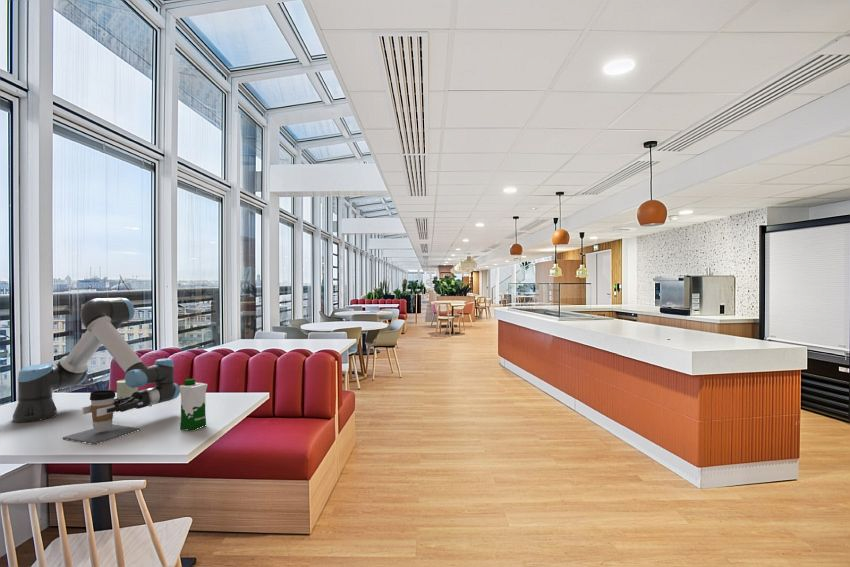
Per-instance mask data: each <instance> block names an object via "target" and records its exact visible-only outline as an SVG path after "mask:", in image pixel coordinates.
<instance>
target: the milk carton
mask: <svg viewBox="0 0 850 567" xmlns="http://www.w3.org/2000/svg"><path fill="white" fill-rule="evenodd" d="M178 386H179V389H180V393H179V395H180V425H179V429H180V430H183V429H188V430H187V431H190V430H194V431H196V430H195V429H197V428H200V427H202V426H205V425H206V426H207V416H206V392H207V389H208V383H203V382H196V378H185V379H184V384H181V385H178ZM206 426H205V427H206ZM202 428H203V427H202ZM200 429H201V428H200ZM197 430H198V429H197Z"/></svg>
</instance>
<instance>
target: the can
mask: <svg viewBox="0 0 850 567" xmlns="http://www.w3.org/2000/svg"><path fill="white" fill-rule="evenodd" d="M136 391H139V387H134V388H132V387H129V386H127V385H126V383H125V380H124V379H120V380H117V381H116V398H120V397H122V398H125V397H131V396H132V394H133V393H134V392H136Z"/></svg>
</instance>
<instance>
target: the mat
mask: <svg viewBox="0 0 850 567" xmlns="http://www.w3.org/2000/svg"><path fill="white" fill-rule="evenodd" d="M137 430H139V431H141V428H140V427H135V426H134V427H133V426H126V425H119V424H115V423H114V424H113V423H112V428H110V429H108V430H104V431H94V429H93V428H90V429H86V430H84V431H80V432H75V433H73V434H69V435H66V436H63V437H62V440H65V439H68V440H67V441H70V440H74V441H73V442H76V441H80V442H79V443H82V442H86V443H85V444H88V443H91V444H90V445H94V444H95V445H98V444H97V443H99V444H101V443H100V442H102V443H104V441H105V442H108V441H111V440H114V439H117V438H120V437H119V436H121V437H123V436H122V435H124V436H126V435H125V434H127V435H129V434H128V433H130V434H132V433H131V432H133V433H135V432H134V431H136V432H138V431H137ZM116 437H117V438H116ZM113 438H114V439H113ZM110 439H111V440H110ZM107 440H108V441H107Z"/></svg>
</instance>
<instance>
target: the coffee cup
mask: <svg viewBox="0 0 850 567" xmlns="http://www.w3.org/2000/svg"><path fill="white" fill-rule="evenodd" d="M89 395H90V396H89V400H90V404H91V405H90V406H91V411H92V413H91V418H92V426H93V428H92V429H94V431H104V430H108V429H110V428H112V424H113V419H114V418H113V417H114V412H113V413H109V414H106V415H102V416H97V409H100V408H104V407H108V406H112V405H114V399H115V397H116V398H117V393H116V392H115V390H111V389H110V390H108V389H107V390H105V389H104V390H101V389H100V390H94V391H91V392H90V394H89Z"/></svg>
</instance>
